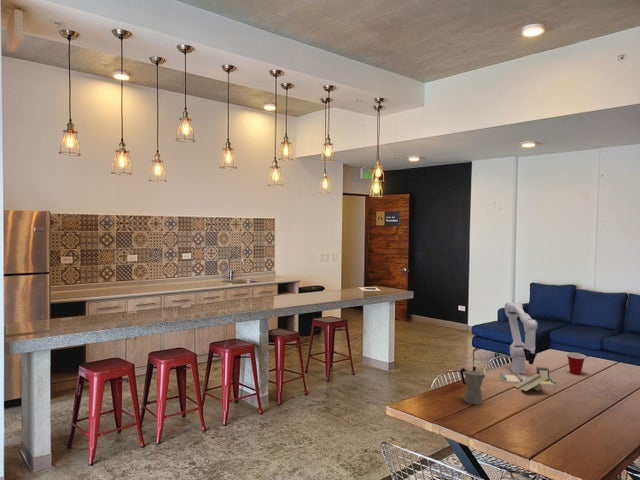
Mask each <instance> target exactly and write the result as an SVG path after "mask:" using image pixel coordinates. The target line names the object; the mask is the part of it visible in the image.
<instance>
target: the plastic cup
mask: <svg viewBox="0 0 640 480" xmlns="http://www.w3.org/2000/svg"><path fill="white" fill-rule="evenodd" d="M566 356H567V360H568V361H567V362H568V366H569V372H570V374H572V375H577V376H579V375H581V373H582V370H583V365H584V362H585V359H586V357H587V356H586V355H585V354H582V353H579V352H567V353H566Z"/></svg>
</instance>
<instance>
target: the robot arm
mask: <svg viewBox="0 0 640 480" xmlns="http://www.w3.org/2000/svg"><path fill="white" fill-rule="evenodd" d="M523 308H524V306H523V303H521V302H506V303H505V304H504V313H505V317H507V319H508V324H509V328H510V332H511V337H512V343H511V344H510V345H509V354H510V356H511V358H512V359H511V367H510V368H509V369H510V370H511V372H512V373H515V374H516V373H519V374H525V375H526V374H527V372H526V362H528V364H529V365H534V362H535V358H536V357H537V355H538V354H537V352H536V351H535V350H536V332H537V331H536V330H538V326H539V324H538V321H537V320H536V319H533V318H532V317H531V315H529V313H526V312H525V311H524V309H523ZM518 318H519V321H521V323H522V324H523V330H524V342H523V341H522V336H521V332H520V327H519V322H518Z"/></svg>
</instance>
